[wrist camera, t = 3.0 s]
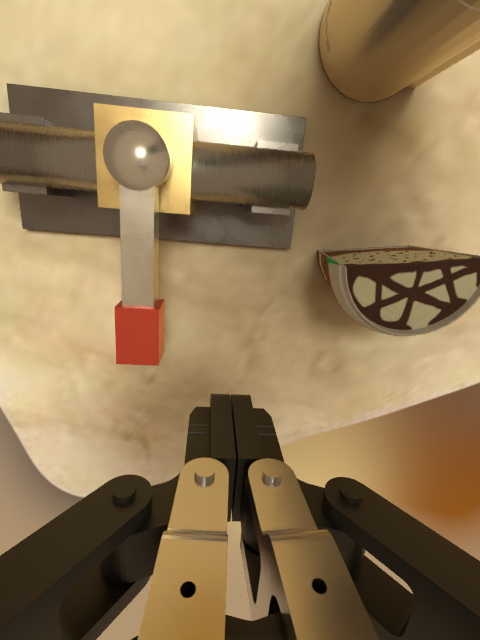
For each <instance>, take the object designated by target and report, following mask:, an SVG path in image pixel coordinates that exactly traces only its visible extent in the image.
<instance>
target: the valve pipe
mask: <svg viewBox="0 0 480 640" xmlns="http://www.w3.org/2000/svg"><path fill="white" fill-rule="evenodd" d="M7 91H8V100H9V109H10V113H1V112H0V183H2V188H3V191H9V192H19V200H20V209H21V218H22V227H23V229H34V230H47V231H60V232H73V233H86V234H99V235H113V236H120V198H119V183H118V182H117V181H116V180H115V179H114V178H113V177H112V176H111V174H110V173H109V171H108V170H107V167H106V165H105V162H104V158H103V144H104V140H105V138H106V135H107V134H108V132H109V131H110V130H111V128H113V127H114V126H115V125H116V124H118V123H120V122H122V121H126V120H138V121H142V122H144V123H147V124H148V125H150V126H152V127H153V128H154V129H155V130H156V131H157V132H158V133H159V134H160V136H161V137H162V139H163V140H164V141H165V143H166V144H167V146H168V148H169V150H170V152H171V156H172V171H171V175H170V177H169V179H168V180H167V182H166V183H165V184H164V185H163V186H162V187H160V188H159V239H165V240H179V241H192V242H205V243H218V244H231V245H245V246H258V247H271V248H284V249H290V245H291V237H292V229H293V221H294V213H295V209H299V210H304V209H306V207H307V206H308V203H309V201H310V198H311V195H312V191H313V186H314V180H315V156H314V154H313V153H308V152H302V148H303V140H304V132H305V124H306V118H304V117H295V116H286V115H277V114H269V113H260V112H251V111H243V110H234V109H225V108H217V107H208V106H199V105H190V104H182V103H173V102H164V101H156V100H147V99H138V98H130V97H121V96H112V95H103V94H95V93H86V92H77V91H69V90H60V89H51V88H43V87H34V86H25V85H16V84H8V83H7Z"/></svg>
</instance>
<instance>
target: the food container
mask: <svg viewBox="0 0 480 640" xmlns="http://www.w3.org/2000/svg"><path fill="white" fill-rule="evenodd" d="M317 252H318V263H319V266H320V269H321V272H322V275H323V277H324V278H325V279H326V280H327V282H328V283H329V284H330V285H331V287H332V289H333V292H334V294H335V297H336V299H337V301H338V302H339V304H340V306H341V308H342V309H343V310H344V311H345V312H346V313H347V315H348V316H349V317H351V318H352V319H353V320H354V321H356V322H357V323H358V324H360V325H362V326H364V327H366V328H368V329H371V330H374V331H377V332H380V333H384V334H388V335H394V336H414V335H421V334H426V333H430V332H433V331H436V330H438V329H441V328H443V327H445V326H447V325H449V324H450V323H452V322H454V321H455V320H457V319H458V318H459V317H461V316H462V315H463V314H464V313H466V312H467V311H468V310H469V309H470V308H471V307H472V306H473V305H474V304H475V303H476V301H477V300H478V299H479V297H480V256H477V255H470V254H464V253H457V252H450V251H443V250H436V249H429V248H422V247H415V246H391V247H371V248H352V249H333V250H317Z"/></svg>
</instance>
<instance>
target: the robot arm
mask: <svg viewBox="0 0 480 640" xmlns="http://www.w3.org/2000/svg"><path fill="white" fill-rule="evenodd" d="M319 48H320V55H321V60H322V63H323V66H324V69H325V72H326V74H327V76H328V77H329V79H330V81H331V82H332V84H333V85H334V86H335V87H336V88H337V89H338V90H339V91H340V92H341V93H343V94H344V95H346V96H347V97H349V98H352V99H354V100H357V101H362V102H374V101H380V100H383V99H385V98H388V97H390V96H392V95H394V94H395V93H397V92H398V91H400V90H402V89H403V88H406V87H411V88H416V87H417V86H419V85H421V84H422V83H424V82H426V81H427V80H429V79H431V78H432V77H434V76H436V75H437V74H439V73H441V72H442V71H444V70H446V69H447V68H449V67H451V66H452V65H454V64H456V63H457V62H459V61H461V60H462V59H464V58H466V57H467V56H469V55H471V54H472V53H474V52H476V51H477V50H479V49H480V0H330V1H329V2H328V5H327V7H326V10H325V12H324V15H323V18H322V22H321V27H320V37H319ZM231 508H232V521H241V529H242V533H241V542H240V549H241V555H242V561H243V567H244V573H245V579H246V585H247V591H248V597H249V603H250V610H251V618H252V621H248V620H243V619H240V618H235V617H232V616H228V615H225V610H226V579H227V578H226V577H227V547H228V535H227V522H229V521H230V518H231ZM365 550H366V551H368V552H369V553H370V554H371V555H373V556H374V557H375V558H376V559H378V560H379V561H380V562H381V563H383V564H384V565H385V566H387V567H388V568H389V569H390V570H391V571H393V572H394V573H395V574H396V575H398V576H399V577H400V578H401V579H403V580H404V581H405V582H406V583H407V584H408V586H409V587H410V588H411V590H412V592H413V594H411V593H410V592H409V591H408V590H406V589H405V588H404V587H403V586H402V585H400V584H399V583H398V582H397V581H395V580H394V579H393V578H392V577H390V576H389V575H388V574H387V573H386V572H384V571H383V570H382V569H381V568H379V567H378V566H377V565H375V564H374V563H373V562H372V561H371V560H370V559H368V558H367V557H366V556H365V555H364V554H365ZM151 575H153V576H152V581H151V584H150V589H149V593H148V598H147V602H146V606H145V610H144V614H143V619H142V623H141V627H140V631H139V635H138V636H136V637H134V638H133V639H131V640H480V561H479V560H477V559H476V558H474V557H473V556H471V555H469V554H468V553H467V552H465V551H463V550H462V549H460V548H459V547H457V546H456V545H454V544H453V543H451V542H450V541H448V540H447V539H445V538H444V537H442V536H440V535H439V534H438V533H436V532H435V531H433V530H432V529H430V528H429V527H427V526H425V525H424V524H423V523H421V522H420V521H418V520H416V519H415V518H413V517H412V516H410V515H409V514H407V513H406V512H404V511H403V510H401V509H400V508H398V507H397V506H395V505H394V504H392V503H391V502H389V501H388V500H386V499H384V498H383V497H382V496H380V495H379V494H377V493H375V492H374V491H372V490H371V489H369V488H368V487H366V486H365V485H363V484H362V483H360V482H358V481H356V480H354V479H351V478H346V477H336V478H333V479H331V480H329V481H328V482H327V483H326V485H325V488H322V487H319V486H315V485H310V484H308V483H305V482H303V481H300V480H299V479H297V478H296V476H295V474H294V472H293V470H292V469H291V468H290V467H289V466H288V465H287V464H285V463H284V460H283V456H282V452H281V450H280V446H279V442H278V439H277V435H276V432H275V428H274V425H273V421H272V418H271V416H270V415H269V414H268V413H267V412H266V411H265V410H264V409H260V408H253V406H252V402H251V397H250V395H232V394H231V397H230V394H211V398H210V407H196V408H195V409H194V410H193V411H192V413H191V414H190V418H189V427H188V437H187V446H186V455H185V464H184V466H183V468H182V469H181V472H180V473H179V474H178V475H177V476H176V477H175V478H173V479H172V480H170V481H168V482H165V483H162V484H158V485H154V486H151V484H150V483H149V482H148V481H147V480H146V479H145V478H143V477H141V476H137V475H123V476H119V477H116V478H114V479H112V480H110V481H108V482H107V483H105V484H104V485H102V486H101V487H99V488H98V489H96V490H95V491H94V492H92V493H91V494H89V495H88V496H86V497H85V498H83V499H82V500H81V501H79V502H78V503H76V504H75V505H73V506H72V507H70V508H69V509H68V510H66V511H65V512H63V513H62V514H60V515H59V516H57V517H56V518H54V519H53V520H52V521H50V522H49V523H47V524H46V525H44V526H43V527H41V528H40V529H39V530H37V531H36V532H34V533H33V534H31V535H30V536H28V537H27V538H26V539H24V540H23V541H21V542H20V543H18V544H17V545H15V546H14V547H12V548H11V549H9V550H8V551H7V552H5V553H4V554H2V555H1V556H0V640H96V639H97V638H98V637H99V636H100V635H101V633H102V632H103V631H104V630H105V629H106V628H107V627H108V626H109V625H110V624H111V623H112V622H113V620H114V619H115V618H116V617H117V616H118V615H119V614H120V613H121V612H122V611H123V610H124V608H125V607H126V606H127V605H128V604H129V603H130V602H131V601H132V600H133V599H134V598H135V596H136V595H137V594H138V593H139V592H140V591H141V590H142V589H143V588H144V586H145V585H146V584H147V582H148V581H149V578H150V576H151Z"/></svg>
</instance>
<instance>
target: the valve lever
mask: <svg viewBox="0 0 480 640" xmlns="http://www.w3.org/2000/svg"><path fill="white" fill-rule="evenodd" d="M103 158H104V162H105V165H106V167H107V170H108V171H109V173H110V174H111V176H112V177H113V178H114V179H115V180H116V181H117V182H118V183H119V198H120V237H121V277H122V300H121V301H120V302H119V303H118V304H117V305H116V306H115V333H116V364H132V365H157V366H159V363H160V360H161V357H162V354H163V351H164V299H158V261H159V188H160V187H162V186H163V185H164V184H165V183H166V182H167V180H168V179H169V177H170V175H171V171H172V156H171V152H170V150H169V148H168V146H167V144H166V143H165V141H164V140H163V139H162V137H161V136H160V134H159V133H158V132H157V131H156V130H155V129H154V128H153V127H152V126H150V125H148V124H147V123H144V122H142V121H138V120H126V121H122V122H120V123H118V124H116V125H115V126H114V127H113V128H111V130H110V131H109V132H108V134H107V135H106V138H105V140H104V144H103Z"/></svg>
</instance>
